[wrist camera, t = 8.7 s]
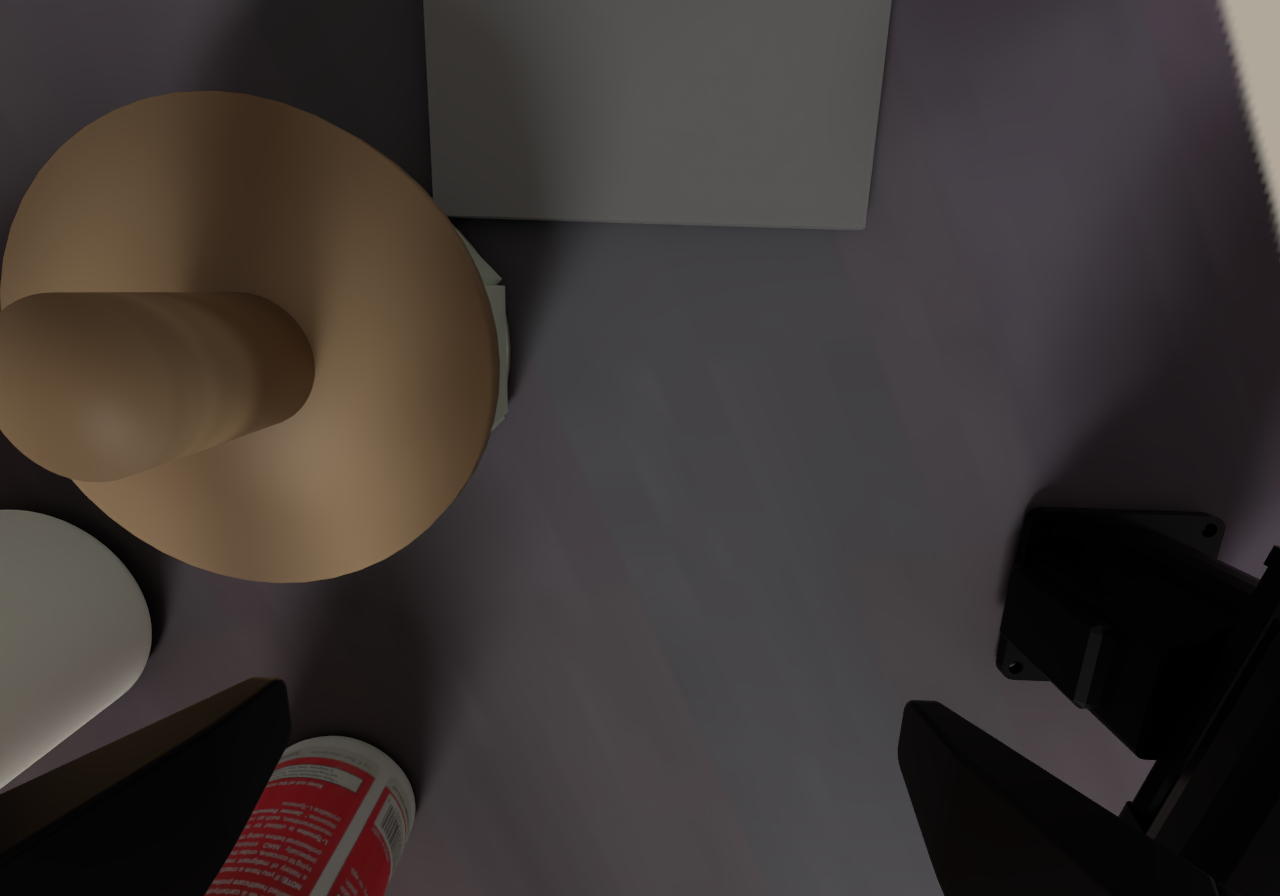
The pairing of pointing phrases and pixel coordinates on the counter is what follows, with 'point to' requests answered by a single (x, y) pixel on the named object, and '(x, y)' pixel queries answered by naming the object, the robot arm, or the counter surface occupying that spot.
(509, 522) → the counter surface
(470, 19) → the mat
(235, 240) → the lid
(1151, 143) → the counter surface
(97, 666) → the beverage can
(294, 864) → the pill bottle
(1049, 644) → the robot arm
